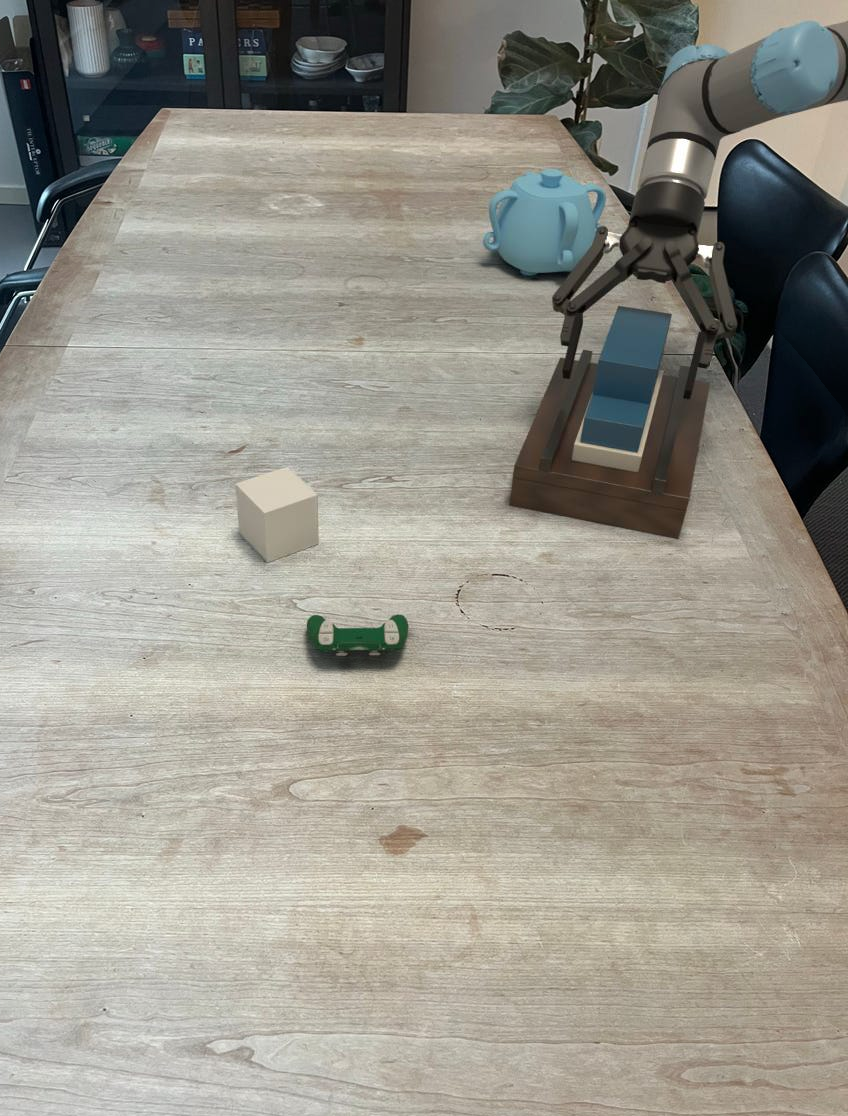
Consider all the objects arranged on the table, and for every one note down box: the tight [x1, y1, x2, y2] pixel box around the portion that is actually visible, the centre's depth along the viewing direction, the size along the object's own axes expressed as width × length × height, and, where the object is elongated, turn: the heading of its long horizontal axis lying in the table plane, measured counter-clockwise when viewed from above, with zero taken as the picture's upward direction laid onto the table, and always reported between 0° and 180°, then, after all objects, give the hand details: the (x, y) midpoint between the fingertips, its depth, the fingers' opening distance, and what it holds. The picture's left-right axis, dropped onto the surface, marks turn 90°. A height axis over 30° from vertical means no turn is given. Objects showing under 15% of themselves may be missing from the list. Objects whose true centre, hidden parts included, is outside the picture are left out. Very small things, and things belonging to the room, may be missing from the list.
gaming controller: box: [306, 613, 409, 657], centre depth 93 cm, size 9×4×6 cm
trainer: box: [572, 305, 673, 472], centre depth 112 cm, size 20×7×9 cm, turn 162°
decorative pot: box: [482, 168, 607, 276], centre depth 157 cm, size 16×16×14 cm
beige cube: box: [234, 466, 320, 563], centre depth 104 cm, size 6×6×6 cm
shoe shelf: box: [508, 349, 711, 539], centre depth 116 cm, size 18×26×6 cm
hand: (625, 385), depth 112 cm, fingers open, 12 cm apart
